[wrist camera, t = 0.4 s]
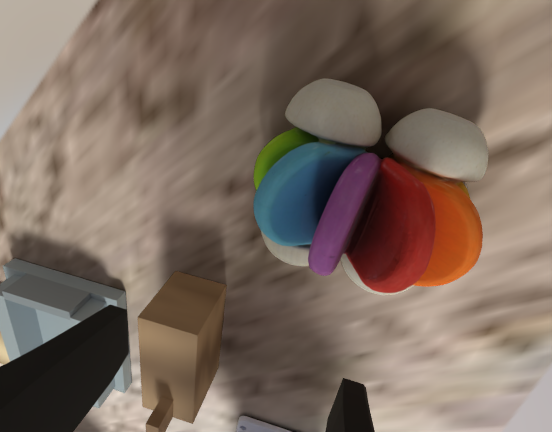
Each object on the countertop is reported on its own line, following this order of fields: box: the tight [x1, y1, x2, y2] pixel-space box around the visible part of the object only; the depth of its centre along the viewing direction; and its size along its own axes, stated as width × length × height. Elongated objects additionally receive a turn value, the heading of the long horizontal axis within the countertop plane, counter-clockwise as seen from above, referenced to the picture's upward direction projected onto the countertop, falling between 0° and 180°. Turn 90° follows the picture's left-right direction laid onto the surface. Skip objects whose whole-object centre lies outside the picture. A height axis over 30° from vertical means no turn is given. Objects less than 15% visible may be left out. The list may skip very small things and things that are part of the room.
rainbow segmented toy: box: [254, 79, 488, 295], centre depth 15 cm, size 8×10×7 cm
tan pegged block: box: [138, 271, 227, 432], centre depth 23 cm, size 8×4×6 cm, turn 171°
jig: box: [0, 258, 132, 408], centre depth 27 cm, size 10×9×3 cm
